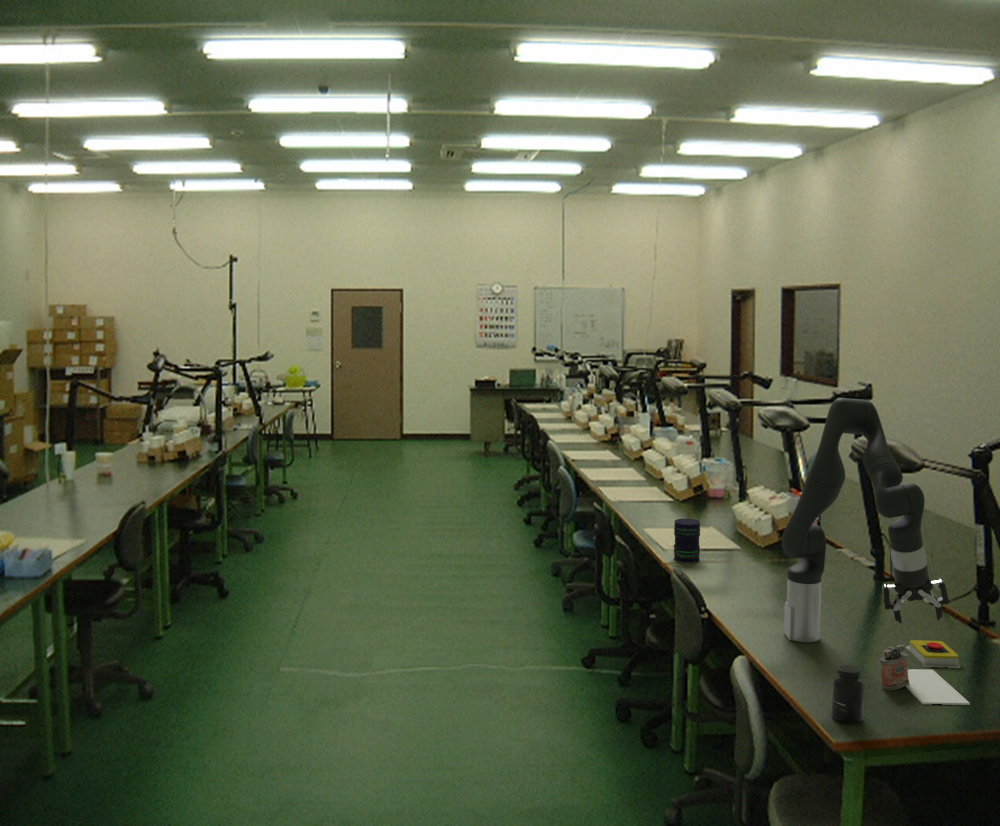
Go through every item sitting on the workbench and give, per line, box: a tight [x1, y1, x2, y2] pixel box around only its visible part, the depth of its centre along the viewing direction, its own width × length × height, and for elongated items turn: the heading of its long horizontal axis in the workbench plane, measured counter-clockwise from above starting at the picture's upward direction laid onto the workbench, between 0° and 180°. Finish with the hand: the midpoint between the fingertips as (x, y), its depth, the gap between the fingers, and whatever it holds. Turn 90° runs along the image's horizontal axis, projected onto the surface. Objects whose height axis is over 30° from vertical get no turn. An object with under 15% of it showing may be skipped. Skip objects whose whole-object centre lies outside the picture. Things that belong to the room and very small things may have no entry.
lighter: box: [879, 644, 909, 691], centre depth 218 cm, size 8×3×10 cm, turn 114°
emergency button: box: [905, 639, 962, 669], centre depth 237 cm, size 9×4×15 cm
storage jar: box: [673, 518, 701, 564], centre depth 335 cm, size 10×10×15 cm
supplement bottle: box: [830, 664, 865, 725], centre depth 201 cm, size 7×7×12 cm
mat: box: [904, 668, 971, 706], centre depth 218 cm, size 11×20×1 cm, turn 177°
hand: (918, 619), depth 213 cm, fingers open, 8 cm apart
